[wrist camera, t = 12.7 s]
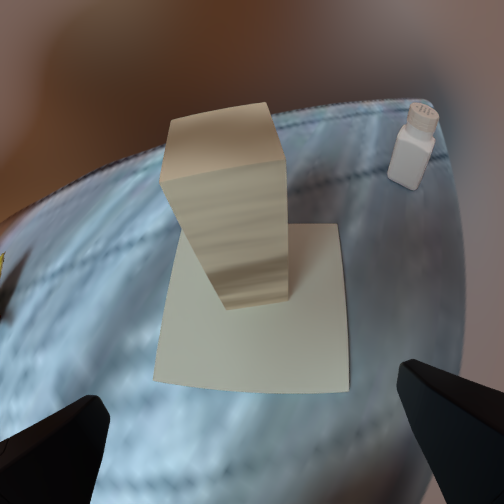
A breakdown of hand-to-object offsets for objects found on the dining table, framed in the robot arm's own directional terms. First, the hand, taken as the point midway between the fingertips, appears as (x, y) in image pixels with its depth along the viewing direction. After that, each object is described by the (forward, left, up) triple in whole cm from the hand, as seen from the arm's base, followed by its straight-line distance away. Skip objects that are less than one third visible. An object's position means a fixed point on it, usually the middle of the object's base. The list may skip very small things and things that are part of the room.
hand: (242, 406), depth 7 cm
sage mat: (+9, +2, -14) cm, 16 cm away
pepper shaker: (+24, -15, -14) cm, 31 cm away
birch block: (+10, +2, -13) cm, 17 cm away
